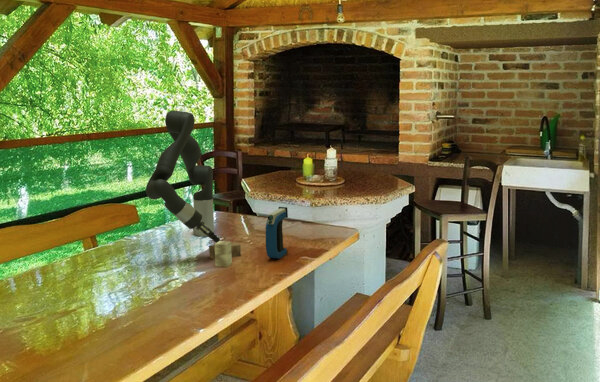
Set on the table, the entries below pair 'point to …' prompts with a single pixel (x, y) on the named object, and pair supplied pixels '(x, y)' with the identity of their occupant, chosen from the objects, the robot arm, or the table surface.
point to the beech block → (223, 254)
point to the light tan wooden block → (234, 250)
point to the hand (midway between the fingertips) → (218, 241)
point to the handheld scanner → (275, 233)
